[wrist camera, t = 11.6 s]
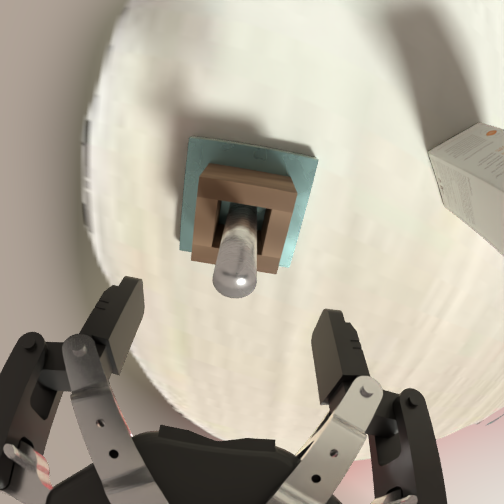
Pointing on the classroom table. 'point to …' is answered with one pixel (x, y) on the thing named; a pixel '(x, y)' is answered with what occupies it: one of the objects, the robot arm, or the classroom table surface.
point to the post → (243, 207)
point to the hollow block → (249, 193)
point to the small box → (474, 179)
